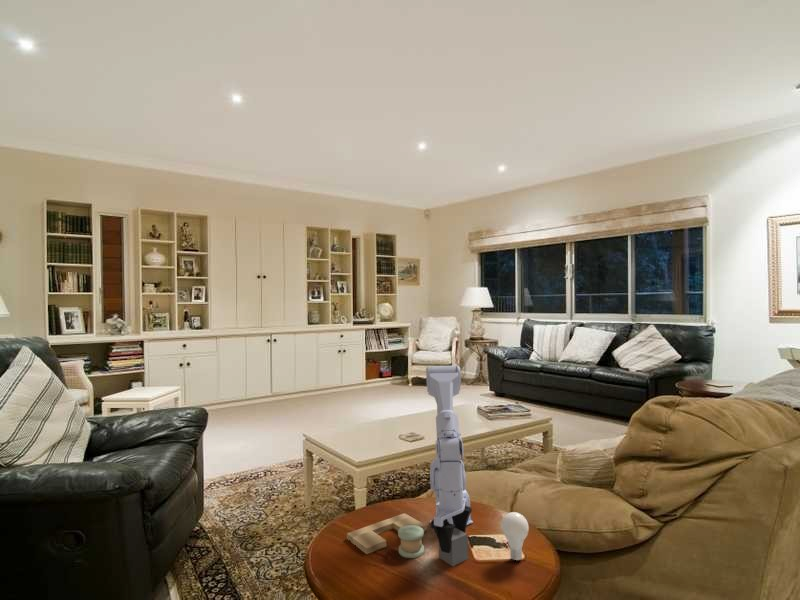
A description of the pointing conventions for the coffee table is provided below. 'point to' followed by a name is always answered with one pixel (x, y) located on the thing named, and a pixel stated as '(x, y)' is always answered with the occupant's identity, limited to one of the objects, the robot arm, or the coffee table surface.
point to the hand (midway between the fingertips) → (453, 544)
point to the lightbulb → (515, 533)
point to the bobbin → (411, 541)
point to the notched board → (369, 536)
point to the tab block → (456, 548)
